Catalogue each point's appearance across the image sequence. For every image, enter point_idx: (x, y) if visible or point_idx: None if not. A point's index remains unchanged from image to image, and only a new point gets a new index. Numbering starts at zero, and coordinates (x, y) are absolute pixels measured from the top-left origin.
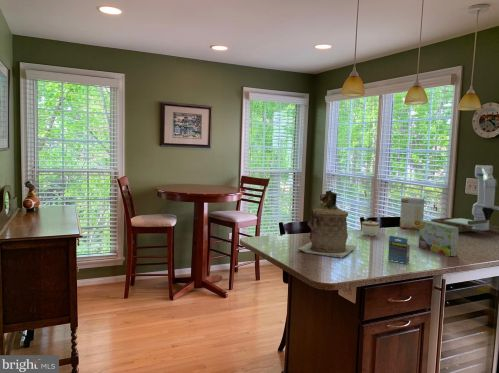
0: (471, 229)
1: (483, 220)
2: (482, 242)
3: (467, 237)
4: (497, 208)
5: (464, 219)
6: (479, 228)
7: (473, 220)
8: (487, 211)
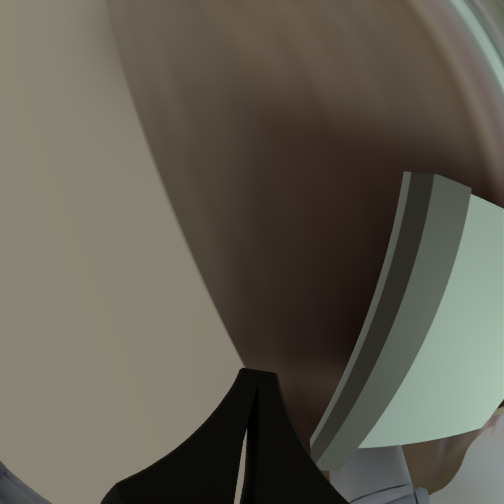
0: None
1: (334, 433)
2: (182, 11)
3: (342, 78)
4: (7, 494)
5: (471, 414)
6: None
7: (429, 320)
8: (194, 489)
